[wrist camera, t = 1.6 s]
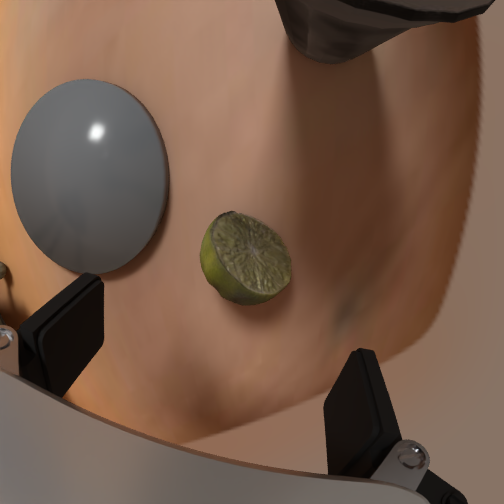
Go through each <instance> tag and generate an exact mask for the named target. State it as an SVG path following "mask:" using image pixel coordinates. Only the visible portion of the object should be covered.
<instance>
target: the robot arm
mask: <svg viewBox="0 0 504 504" xmlns="http://www.w3.org/2000/svg"><path fill="white" fill-rule="evenodd" d="M103 342H104V283H103V282H102V281H101V278H100V277H99V276H96V275H94V274H91V273H88V272H85V273H84V274H82V275H81V276H80V277H79V278H77V279H76V280H75V281H73V282H72V283H71V284H70V285H68V286H67V287H66V288H65V289H63V290H62V291H61V292H60V293H58V294H57V295H56V296H55V297H53V298H52V299H51V300H50V301H48V302H47V303H46V304H45V305H44V306H42V307H41V308H40V309H39V310H38V311H36V312H35V313H34V314H33V315H32V316H30V317H29V318H28V319H27V320H26V321H25V322H23V323H22V324H21V325H20V329H19V330H17V331H15V330H14V329H13V328H11V327H9V326H6V325H0V504H468V503H467V500H466V498H465V496H464V495H463V494H462V493H461V492H460V491H458V490H457V489H455V488H454V487H452V486H451V485H450V484H448V483H447V482H445V481H444V480H442V479H441V478H440V477H438V476H437V475H436V474H434V473H433V472H431V471H430V470H428V467H429V463H430V457H429V455H428V452H427V451H426V449H425V448H424V447H423V446H422V445H421V444H419V443H417V442H415V441H413V440H402V437H401V434H400V430H399V426H398V423H397V420H396V416H395V413H394V410H393V406H392V404H391V400H390V397H389V394H388V391H387V388H386V385H385V382H384V379H383V376H382V373H381V370H380V367H379V364H378V361H377V358H376V355H375V352H374V351H373V350H368V349H363V348H358V349H357V350H356V351H352V352H351V354H350V356H349V358H348V360H347V362H346V363H345V365H344V367H343V369H342V371H341V373H340V375H339V377H338V378H337V380H336V382H335V384H334V386H333V387H332V389H331V391H330V393H329V394H328V396H327V398H326V400H325V402H324V407H323V409H324V421H325V435H326V448H327V462H328V463H327V464H328V475H325V474H316V473H309V472H301V471H294V470H286V469H280V468H274V467H268V466H262V465H257V464H252V463H246V462H242V461H238V460H233V459H228V458H225V457H220V456H216V455H212V454H208V453H204V452H201V451H197V450H193V449H190V448H186V447H183V446H180V445H177V444H174V443H170V442H167V441H164V440H161V439H158V438H155V437H152V436H150V435H147V434H144V433H141V432H138V431H136V430H133V429H130V428H128V427H125V426H123V425H120V424H118V423H115V422H113V421H110V420H108V419H106V418H103V417H101V416H99V415H96V414H94V413H92V412H90V411H87V410H85V409H83V408H81V407H79V406H77V405H75V404H73V403H71V402H69V401H67V400H64V399H62V397H63V396H64V395H65V393H66V392H67V391H68V389H69V388H70V387H71V385H72V384H73V383H74V381H75V380H76V379H77V377H78V376H79V375H80V374H81V372H82V371H83V370H84V368H85V367H86V366H87V364H88V363H89V362H90V361H91V359H92V358H93V357H94V356H95V354H96V353H97V352H98V350H99V349H100V348H101V347H102V345H103Z"/></svg>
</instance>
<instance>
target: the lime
mask: <svg viewBox="0 0 504 504" xmlns="http://www.w3.org/2000/svg"><path fill="white" fill-rule="evenodd" d="M200 262H201V267H202V270H203V272H204V275H205V277H206V279H207V281H208V282H209V284H210V285H212V286H213V287H214V288H215V289H216V290H217V291H218V292H219V294H220V295H221V296H222V297H223V298H225V299H227V300H229V301H232V302H234V303H237V304H239V305H256V304H260V303H263V302H266V301H268V300H270V299H272V298H273V297H275V296H276V295H277V294H278V293H280V292H281V291H282V290H283V289H284V288H285V287H286V286H287V285H288V284H289V282H290V279H291V259H290V256H289V253H288V251H287V248H286V246H284V243H283V242H282V240H281V238H280V237H279V236H278V235H277V233H276V232H274V231H273V230H272V229H270V228H269V227H268V226H266V225H265V224H264V223H262V222H261V221H259V220H257V219H255V218H253V217H251V216H248V215H245V214H242V213H239V214H238V213H236V212H234V211H230V212H227V213H223V214H221V215H219V216H218V217H217V218H216V219H215V220H214V221H213V222H212V223H211V224H210V226H209V227H208V229H207V231H206V233H205V235H204V238H203V241H202V245H201V251H200Z"/></svg>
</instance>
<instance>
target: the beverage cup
mask: <svg viewBox="0 0 504 504" xmlns="http://www.w3.org/2000/svg"><path fill="white" fill-rule="evenodd" d="M494 1H495V0H275V2H276V5H277V8H278V11H279V14H280V16H281V19H282V22H283V25H284V28H285V31H286V33H287V35H288V36H289V39H290V41H291V42H292V44H293V45H294V46H295V48H296V49H297V50H298V51H299V52H301V53H302V54H303V55H305V56H306V57H308V58H310V59H312V60H315V61H317V62H321V63H329V64H335V63H342V62H346V61H348V60H351V59H353V58H355V57H357V56H359V55H362V54H364V53H365V52H367V51H369V50H371V49H373V48H374V47H376V46H378V45H380V44H382V43H384V42H385V41H387V40H389V39H391V38H393V37H395V36H397V35H399V34H401V33H403V32H405V31H407V30H409V29H411V28H416V27H421V26H425V25H430V24H435V23H438V22H450V23H454V22H457V21H460V20H463V19H466V18H470V17H473V16H476V15H479V14H483V13H484V12H485V11H486V10H487V9H488V8H489V7H490V5H491V4H492V3H493V2H494Z"/></svg>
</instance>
